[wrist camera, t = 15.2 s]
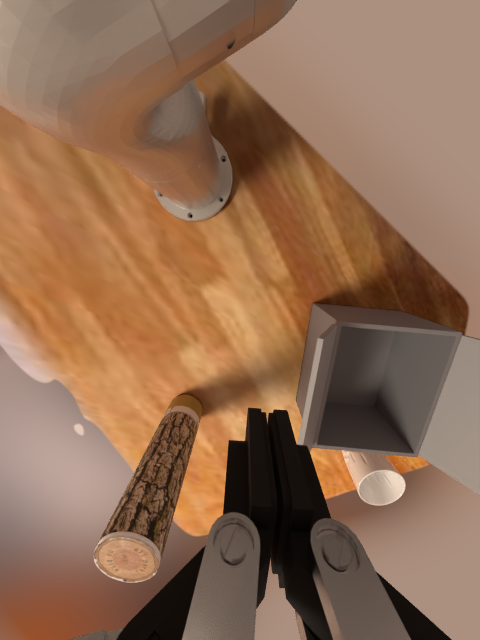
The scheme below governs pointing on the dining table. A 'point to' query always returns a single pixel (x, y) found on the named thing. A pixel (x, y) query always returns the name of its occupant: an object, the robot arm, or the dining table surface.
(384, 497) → the white cup
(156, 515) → the paper tube
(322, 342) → the flap
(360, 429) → the carton
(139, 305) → the dining table surface
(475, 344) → the flap
